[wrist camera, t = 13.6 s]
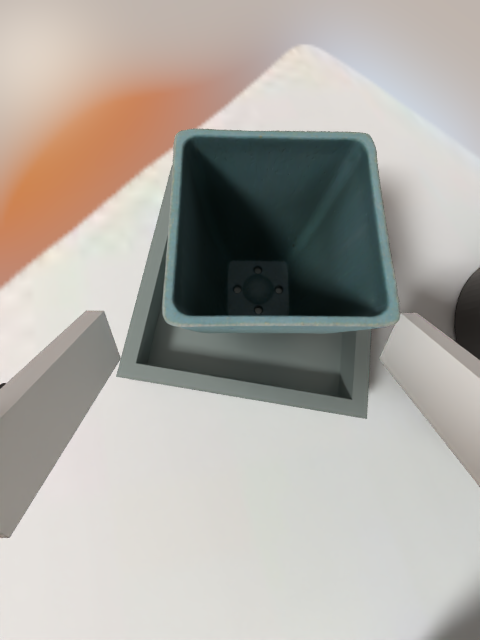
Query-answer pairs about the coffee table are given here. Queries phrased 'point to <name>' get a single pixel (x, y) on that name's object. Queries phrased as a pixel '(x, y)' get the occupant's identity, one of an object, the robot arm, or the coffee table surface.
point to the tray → (242, 352)
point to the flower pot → (277, 234)
